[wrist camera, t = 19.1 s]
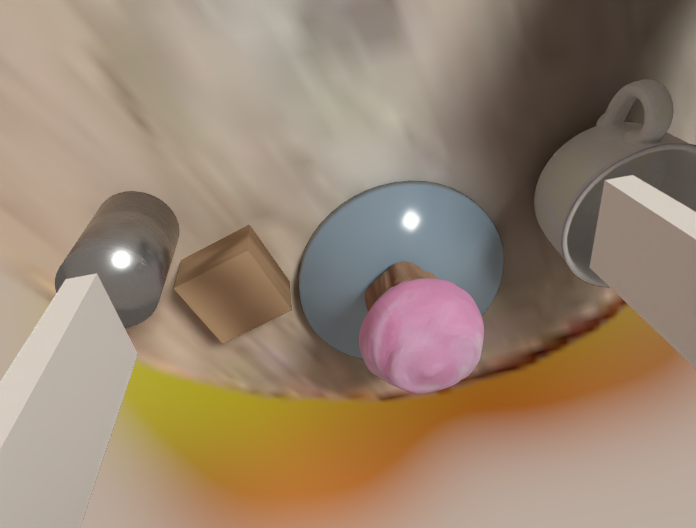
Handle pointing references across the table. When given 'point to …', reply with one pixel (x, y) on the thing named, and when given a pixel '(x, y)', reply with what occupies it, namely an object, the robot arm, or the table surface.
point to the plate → (394, 253)
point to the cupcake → (420, 330)
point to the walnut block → (234, 285)
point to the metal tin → (126, 253)
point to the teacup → (611, 171)
